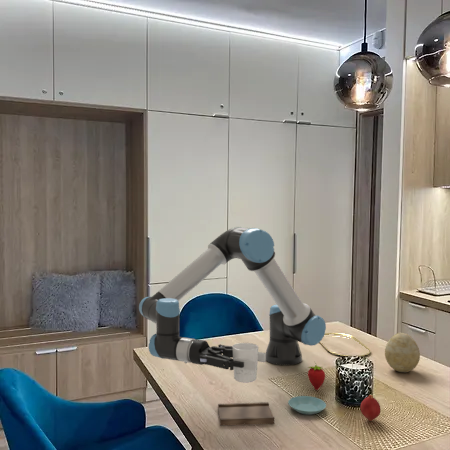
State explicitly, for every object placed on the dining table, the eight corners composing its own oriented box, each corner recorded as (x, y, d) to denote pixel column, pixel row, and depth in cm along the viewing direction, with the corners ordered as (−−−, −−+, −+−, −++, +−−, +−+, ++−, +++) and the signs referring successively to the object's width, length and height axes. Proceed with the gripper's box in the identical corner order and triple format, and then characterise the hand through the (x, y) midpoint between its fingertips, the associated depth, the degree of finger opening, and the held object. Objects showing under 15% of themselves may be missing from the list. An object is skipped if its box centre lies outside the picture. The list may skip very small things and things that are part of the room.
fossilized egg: (382, 374, 183) (383, 335, 182) (386, 363, 195) (387, 327, 194) (418, 379, 178) (419, 339, 177) (420, 368, 189) (421, 331, 188)
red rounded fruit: (357, 416, 147) (357, 390, 147) (375, 415, 147) (376, 390, 147) (364, 425, 141) (364, 398, 141) (383, 424, 142) (383, 398, 141)
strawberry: (310, 394, 163) (310, 365, 163) (305, 386, 171) (305, 358, 170) (327, 394, 164) (328, 365, 163) (321, 385, 171) (322, 358, 171)
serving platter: (333, 359, 201) (333, 356, 201) (311, 336, 236) (311, 333, 236) (377, 358, 203) (377, 355, 202) (349, 335, 237) (349, 332, 237)
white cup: (256, 384, 142) (256, 351, 141) (229, 382, 143) (230, 349, 143) (259, 375, 149) (260, 343, 149) (234, 373, 151) (235, 341, 151)
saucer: (299, 399, 160) (299, 392, 160) (332, 408, 153) (332, 401, 153) (281, 411, 151) (281, 404, 151) (315, 422, 144) (315, 414, 144)
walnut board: (268, 407, 153) (268, 402, 153) (274, 423, 142) (274, 417, 142) (218, 409, 152) (218, 403, 152) (220, 425, 141) (220, 419, 141)
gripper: (208, 353, 163) (272, 363, 153) (176, 372, 145) (246, 385, 135) (208, 331, 163) (272, 340, 153) (176, 348, 145) (246, 359, 135)
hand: (260, 361), depth 144 cm, fingers closed on white cup, 7 cm apart
